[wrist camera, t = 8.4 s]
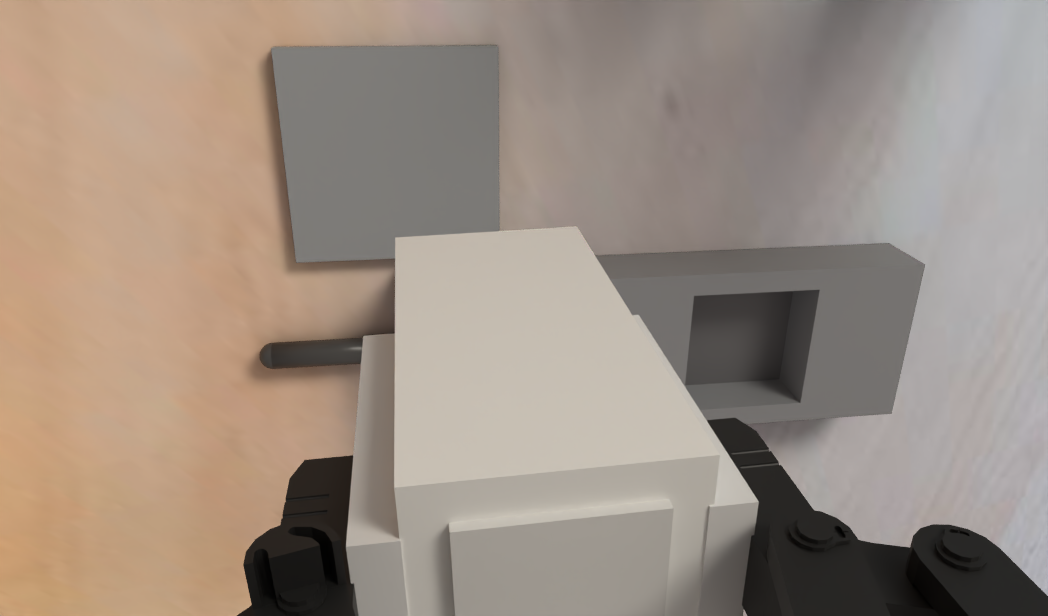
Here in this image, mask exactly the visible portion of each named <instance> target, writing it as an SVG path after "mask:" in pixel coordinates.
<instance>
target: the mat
mask: <svg viewBox="0 0 1048 616" xmlns="http://www.w3.org/2000/svg"><path fill="white" fill-rule="evenodd" d="M271 51H272V60H273V69H274V77H275V86H276V94H277V103H278V111H279V120H280V128H281V137H282V146H283V154H284V163H285V171H286V180H287V188H288V197H289V205H290V214H291V223H292V231H293V240H294V248H295V257H296V263H300V262H324V261H348V260H372V259H395V237H412V236H428V235H445V234H461V233H477V232H494V231H499V69H498V46H497V45H452V46H308V47H272V48H271Z"/></svg>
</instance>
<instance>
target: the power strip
mask: <svg viewBox="0 0 1048 616" xmlns="http://www.w3.org/2000/svg"><path fill="white" fill-rule="evenodd" d="M596 258H597V260H598V261H599V263H600V264H601V266H602V268H603V269H604V271H605V272H606V274H607V276H608V277H609V279H610V280H611V282H612V284H613V285H614V287H615V288H616V290H617V292H618V293H619V295H620V296H621V298H622V299H623V301H624V303H625V304H626V306H627V307H628V309H629V311H630V312H631V314H632V315H639V316H640V318H641V319H642V321H643V322H644V324H645V325H646V327H647V329H648V330H649V332H650V333H651V335H652V336H653V338H654V339H655V341H656V343H657V344H658V346H659V347H660V349H661V350H662V352H663V353H664V355H665V357H666V358H667V360H668V361H669V363H670V364H671V366H672V367H673V369H674V371H675V372H676V374H677V375H678V377H679V378H680V380H681V382H682V383H683V385H684V386H685V388H686V389H687V391H688V392H689V394H690V396H691V397H692V399H693V400H694V402H695V403H696V405H697V406H698V408H699V410H700V411H701V413H702V414H703V416H704V417H705V419H706V420H714V419H725V418H737V419H738V420H740V421H741V422H743V423H744V424H755V423H769V422H783V421H797V420H810V419H824V418H838V417H851V416H865V415H879V414H891V413H892V409H893V405H894V400H895V396H896V391H897V387H898V382H899V378H900V374H901V369H902V365H903V360H904V356H905V351H906V347H907V343H908V338H909V334H910V329H911V325H912V321H913V316H914V312H915V307H916V303H917V298H918V294H919V290H920V285H921V281H922V276H923V272H924V267H925V264H923V263H922V262H920V261H918V260H917V259H915V258H913V257H912V256H910V255H908V254H906V253H905V252H903V251H901V250H900V249H898V248H896V247H894V246H893V245H891V244H889V243H884V244H860V245H837V246H814V247H790V248H767V249H743V250H720V251H696V252H673V253H649V254H626V255H602V256H596ZM362 346H363V338H351V339H333V340H314V341H296V342H277V343H269V344H267V345H265V346H264V347H263V348H262V349H261V352H260V360H261V362H262V364H263V365H264V366H265V367H267V368H270V369H279V368H296V367H313V366H330V365H347V364H361V358H362Z"/></svg>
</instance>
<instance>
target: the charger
mask: <svg viewBox="0 0 1048 616" xmlns="http://www.w3.org/2000/svg"><path fill="white" fill-rule="evenodd" d="M719 459H720V454H719V453H718V451H717V449H716V448H715V446H714V445H713V443H712V441H711V440H710V438H709V437H708V435H707V433H706V432H705V430H704V429H703V427H702V425H701V424H700V422H699V421H698V419H697V417H696V416H695V414H694V413H693V411H692V410H691V408H690V406H689V405H688V403H687V402H686V400H685V398H684V397H683V395H682V394H681V392H680V390H679V389H678V387H677V386H676V384H675V382H674V381H673V379H672V378H671V376H670V374H669V373H668V371H667V370H666V368H665V366H664V365H663V363H662V362H661V360H660V358H659V357H658V355H657V354H656V352H655V351H654V349H653V347H652V346H651V344H650V343H649V341H648V339H647V338H646V336H645V335H644V333H643V331H642V330H641V328H640V327H639V325H638V323H637V322H636V320H635V319H634V317H633V315H632V314H631V312H630V311H629V309H628V307H627V306H626V304H625V303H624V301H623V299H622V298H621V296H620V295H619V293H618V292H617V290H616V288H615V287H614V285H613V284H612V282H611V280H610V279H609V277H608V276H607V274H606V272H605V271H604V269H603V268H602V266H601V264H600V263H599V261H598V260H597V258H596V256H595V255H594V253H593V252H592V250H591V248H590V247H589V245H588V244H587V242H586V240H585V239H584V237H583V236H582V234H581V233H580V231H579V229H578V228H577V226H576V227H559V228H543V229H527V230H510V231H494V232H477V233H461V234H445V235H428V236H412V237H395V419H394V491H395V500H396V510H397V520H398V530H399V539H401V549H402V559H403V569H404V579H405V589H406V599H407V608H408V616H697V614H698V605H699V596H700V586H701V577H702V568H703V559H704V549H705V540H706V531H707V522H708V513H709V506H710V505H714V504H715V495H716V486H717V477H718V468H719Z"/></svg>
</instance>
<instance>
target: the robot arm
mask: <svg viewBox="0 0 1048 616" xmlns="http://www.w3.org/2000/svg"><path fill="white" fill-rule="evenodd" d="M633 317H634V319H635V320H636V322H637V323H638V325H639V327H640V328H641V330H642V331H643V333H644V335H645V336H646V338H647V339H648V341H649V343H650V344H651V346H652V347H653V349H654V351H655V352H656V354H657V355H658V357H659V358H660V360H661V362H662V363H663V365H664V366H665V368H666V370H667V371H668V373H669V374H670V376H671V378H672V379H673V381H674V382H675V384H676V386H677V387H678V389H679V390H680V392H681V394H682V395H683V397H684V398H685V400H686V402H687V403H688V405H689V406H690V408H691V410H692V411H693V413H694V414H695V416H696V417H697V419H698V421H699V422H700V424H701V425H702V427H703V429H704V430H705V432H706V433H707V435H708V437H709V438H710V440H711V441H712V443H713V445H714V446H715V448H716V449H717V451H718V453H719V454H720V459H719V468H718V477H717V486H716V495H715V504H714V505H710V506H709V513H708V522H707V531H706V540H705V549H704V559H703V568H702V577H701V586H700V596H699V605H698V614H697V616H743V610H745V612H746V614H747V616H1048V596H1047V595H1046V594H1045V593H1044V592H1043V591H1042V590H1041V589H1040V588H1039V587H1038V586H1037V585H1036V584H1035V583H1034V582H1033V581H1032V580H1031V579H1030V578H1029V577H1028V576H1027V575H1026V574H1025V573H1024V572H1023V571H1022V570H1021V569H1020V568H1019V567H1018V566H1017V565H1016V564H1015V563H1014V562H1013V561H1012V560H1011V559H1010V558H1009V557H1008V556H1007V555H1006V554H1005V553H1004V552H1003V551H1002V550H1001V549H1000V548H999V547H997V546H996V545H995V544H993V543H992V542H991V541H989V540H988V539H987V538H985V537H983V536H981V535H979V534H977V533H975V532H973V531H970V530H968V529H965V528H961V527H956V526H952V525H930V526H927V527H923V528H920V529H919V530H918V531H917V533H916V534H915V535H914V536H913V539H912V543H911V547H910V548H908V547H900V546H892V545H884V544H876V543H870V542H865V541H860V540H858V539H857V537H856V536H855V534H854V533H853V532H852V530H851V529H850V527H848V526H847V525H845V524H844V523H843V522H841V521H840V520H839V519H837V518H835V517H833V516H830V515H828V514H825V513H823V512H820V511H814V510H813V508H812V507H811V506H810V504H809V503H808V502H807V500H806V499H805V497H804V496H803V495H802V493H801V492H800V491H799V489H798V488H797V487H796V485H795V484H794V482H793V481H792V480H791V478H790V477H789V476H788V474H787V473H786V471H785V470H784V469H783V467H782V466H781V465H779V463H778V460H777V459H776V458H775V456H774V455H773V454H772V452H771V451H770V452H769V448H768V447H767V445H766V444H765V443H764V441H763V440H762V439H761V437H760V436H759V434H758V433H757V432H756V431H755V430H753V429H752V428H750V427H749V426H747V425H746V424H744V423H743V422H741V421H740V420H738V419H737V418H725V419H714V420H706V419H705V417H704V416H703V414H702V413H701V411H700V410H699V408H698V406H697V405H696V403H695V402H694V400H693V399H692V397H691V396H690V394H689V392H688V391H687V389H686V388H685V386H684V385H683V383H682V382H681V380H680V378H679V377H678V375H677V374H676V372H675V371H674V369H673V367H672V366H671V364H670V363H669V361H668V360H667V358H666V357H665V355H664V353H663V352H662V350H661V349H660V347H659V346H658V344H657V343H656V341H655V339H654V338H653V336H652V335H651V333H650V332H649V330H648V329H647V327H646V325H645V324H644V322H643V321H642V319H641V318H640V316H639V315H633ZM394 419H395V333H393V334H380V335H367V336H363V346H362V358H361V370H360V382H359V394H358V406H357V418H356V430H355V442H354V454H353V456H343V457H332V458H322V459H311V460H304V462H303V463H302V464H301V465H300V467H299V468H298V469H297V470H296V472H295V473H294V474H293V475H292V476H291V478H290V480H289V485H288V490H287V495H286V502H285V505H284V510H283V519H282V520H281V525H280V526H278V527H275V528H272V529H270V530H268V531H267V532H266V533H264V534H263V535H261V536H260V537H258V538H257V539H256V540H255V541H254V542H253V543H252V545H251V546H250V547H249V549H248V550H247V551H246V555H245V560H244V570H245V575H246V579H247V584H248V589H249V593H250V598H251V603H252V605H251V606H250V607H249V608H248V609H246V610H245V611H243V612H242V613H240V614H239V615H237V616H408V608H407V599H406V589H405V579H404V569H403V559H402V549H401V539H399V530H398V520H397V510H396V500H395V491H394Z"/></svg>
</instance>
